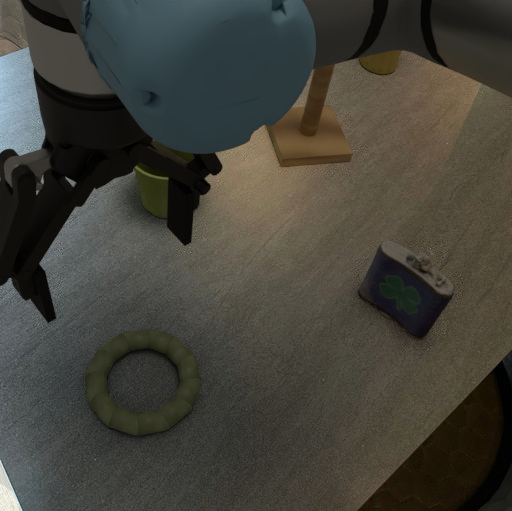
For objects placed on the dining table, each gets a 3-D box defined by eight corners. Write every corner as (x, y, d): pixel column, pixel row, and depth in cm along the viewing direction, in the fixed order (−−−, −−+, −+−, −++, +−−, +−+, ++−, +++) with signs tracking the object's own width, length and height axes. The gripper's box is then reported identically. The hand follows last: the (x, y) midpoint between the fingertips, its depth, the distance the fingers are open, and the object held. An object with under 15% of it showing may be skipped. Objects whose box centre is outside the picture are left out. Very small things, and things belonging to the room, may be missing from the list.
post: (350, 161, 86) (380, 74, 75) (281, 167, 84) (301, 77, 72) (328, 112, 92) (353, 25, 80) (263, 116, 89) (279, 26, 78)
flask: (353, 293, 73) (380, 236, 64) (368, 279, 74) (396, 221, 66) (419, 344, 70) (456, 291, 61) (432, 328, 71) (471, 274, 63)
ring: (208, 425, 61) (209, 417, 59) (92, 447, 58) (90, 439, 57) (188, 328, 67) (189, 319, 66) (82, 344, 65) (80, 334, 63)
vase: (398, 77, 99) (429, -7, 88) (360, 72, 99) (387, -13, 88) (393, 54, 103) (423, -29, 92) (357, 49, 103) (383, -35, 91)
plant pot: (125, 174, 79) (122, 121, 73) (199, 171, 81) (203, 120, 75) (130, 231, 74) (127, 180, 67) (209, 227, 76) (214, 177, 69)
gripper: (220, -21, 45) (202, 184, 61) (-149, 98, 33) (-47, 313, 50) (291, 32, 42) (252, 233, 59) (-86, 185, 30) (0, 382, 47)
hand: (115, 270), depth 54 cm, fingers open, 13 cm apart
